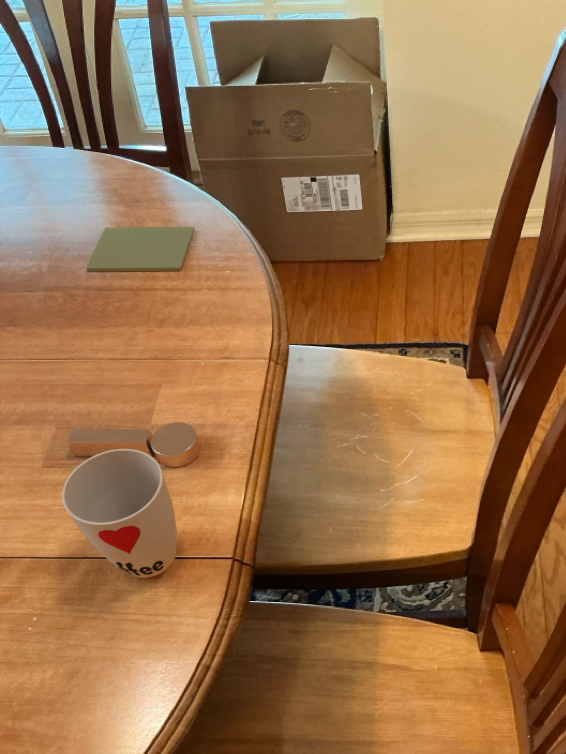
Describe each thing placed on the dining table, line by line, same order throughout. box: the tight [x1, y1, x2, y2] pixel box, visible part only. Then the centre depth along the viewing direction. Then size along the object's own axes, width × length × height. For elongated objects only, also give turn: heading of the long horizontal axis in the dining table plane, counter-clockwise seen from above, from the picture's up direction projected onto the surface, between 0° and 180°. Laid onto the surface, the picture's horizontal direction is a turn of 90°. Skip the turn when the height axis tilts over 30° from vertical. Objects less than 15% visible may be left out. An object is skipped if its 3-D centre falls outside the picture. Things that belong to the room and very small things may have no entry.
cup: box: [61, 449, 178, 579], centre depth 67 cm, size 8×8×10 cm
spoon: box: [66, 421, 202, 468], centre depth 78 cm, size 13×5×2 cm, turn 88°
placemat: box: [86, 226, 196, 272], centre depth 99 cm, size 12×9×1 cm
